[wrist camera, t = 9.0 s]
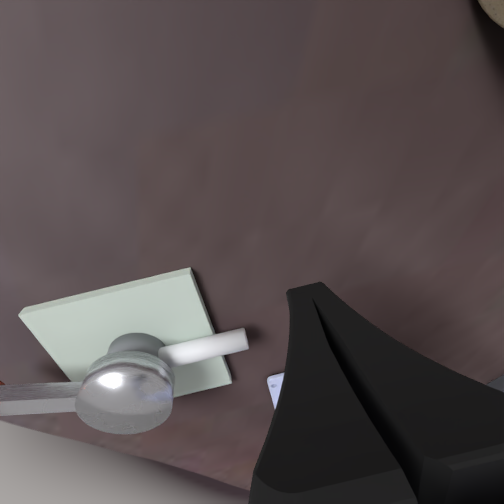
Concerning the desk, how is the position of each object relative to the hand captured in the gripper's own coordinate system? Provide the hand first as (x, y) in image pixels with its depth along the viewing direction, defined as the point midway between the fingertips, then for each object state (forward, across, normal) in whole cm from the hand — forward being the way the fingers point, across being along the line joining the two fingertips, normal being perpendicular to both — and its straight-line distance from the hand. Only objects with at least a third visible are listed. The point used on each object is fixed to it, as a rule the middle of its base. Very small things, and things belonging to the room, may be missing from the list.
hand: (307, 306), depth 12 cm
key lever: (+7, +15, +8) cm, 19 cm away
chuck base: (+10, +11, +9) cm, 17 cm away
